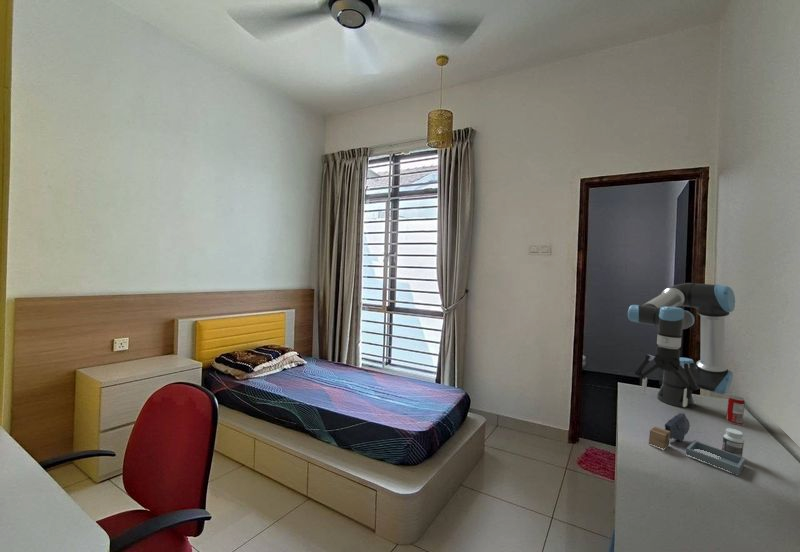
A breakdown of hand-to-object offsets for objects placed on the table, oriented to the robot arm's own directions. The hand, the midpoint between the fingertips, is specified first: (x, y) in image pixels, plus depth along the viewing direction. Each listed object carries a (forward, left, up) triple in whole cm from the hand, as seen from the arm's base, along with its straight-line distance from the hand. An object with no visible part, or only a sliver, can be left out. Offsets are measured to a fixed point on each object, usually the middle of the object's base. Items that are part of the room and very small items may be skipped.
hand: (663, 399), depth 141 cm
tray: (-4, +16, -18) cm, 25 cm away
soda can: (-55, +13, -19) cm, 60 cm away
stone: (-12, +2, -19) cm, 22 cm away
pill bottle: (-14, +19, -19) cm, 30 cm away
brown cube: (0, 0, -19) cm, 19 cm away
